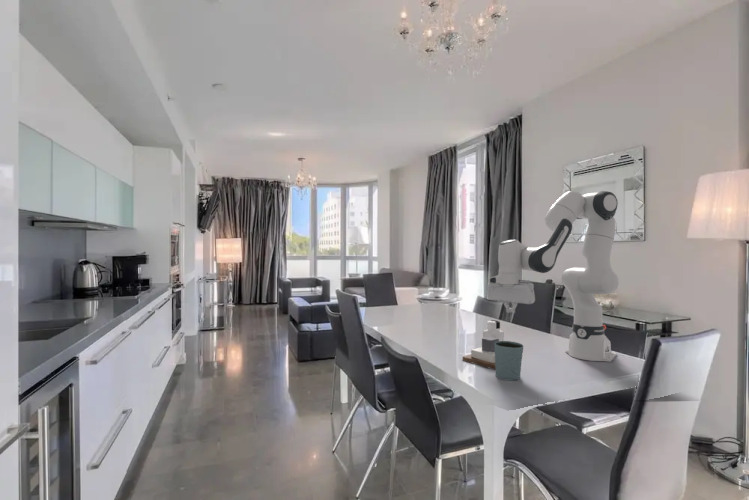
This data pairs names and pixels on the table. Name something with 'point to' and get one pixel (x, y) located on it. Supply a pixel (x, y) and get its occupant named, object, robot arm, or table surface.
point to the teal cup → (508, 359)
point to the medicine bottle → (493, 330)
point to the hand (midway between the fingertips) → (510, 312)
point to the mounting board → (479, 361)
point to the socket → (483, 355)
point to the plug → (489, 344)
